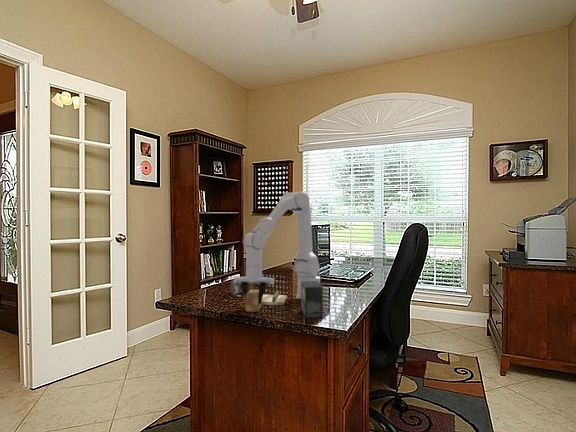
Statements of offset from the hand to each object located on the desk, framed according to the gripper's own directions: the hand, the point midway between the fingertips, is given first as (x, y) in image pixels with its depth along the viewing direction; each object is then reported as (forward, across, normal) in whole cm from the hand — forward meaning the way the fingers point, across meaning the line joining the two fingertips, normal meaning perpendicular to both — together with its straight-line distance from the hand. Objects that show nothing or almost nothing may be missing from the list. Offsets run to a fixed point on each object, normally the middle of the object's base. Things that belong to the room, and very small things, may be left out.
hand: (253, 303), depth 125 cm
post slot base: (+2, +3, +12) cm, 13 cm away
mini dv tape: (+2, -12, +24) cm, 27 cm away
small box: (+2, +21, -4) cm, 21 cm away
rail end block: (+2, 0, 0) cm, 2 cm away
